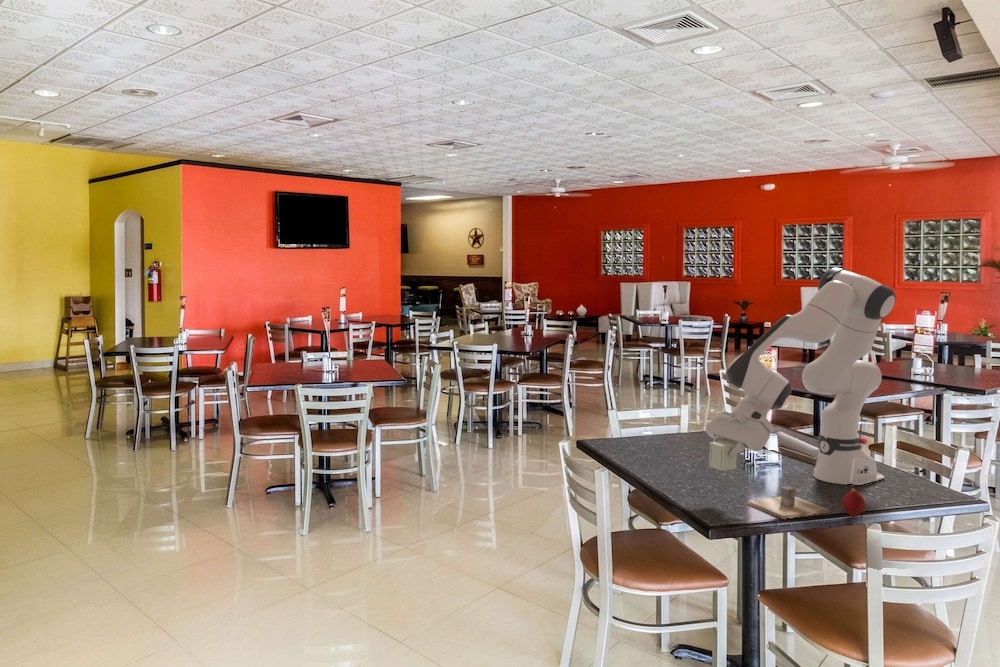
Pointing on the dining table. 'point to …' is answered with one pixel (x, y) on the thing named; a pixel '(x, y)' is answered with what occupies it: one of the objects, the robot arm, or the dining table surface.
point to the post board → (785, 510)
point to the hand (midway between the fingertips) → (721, 453)
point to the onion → (853, 503)
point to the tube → (796, 445)
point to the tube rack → (798, 455)
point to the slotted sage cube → (722, 456)
